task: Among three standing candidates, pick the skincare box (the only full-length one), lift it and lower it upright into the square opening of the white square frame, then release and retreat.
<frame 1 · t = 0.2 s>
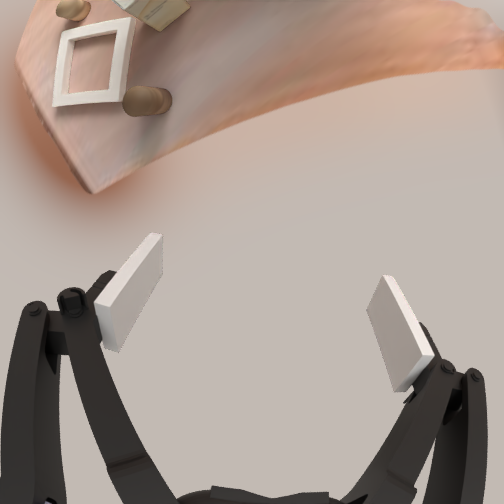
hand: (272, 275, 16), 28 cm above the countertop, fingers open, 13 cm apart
white square frame: (93, 63, 33), on the countertop
skincare box: (168, 11, 30), on the countertop
mid walnut dowel: (159, 101, 36), on the countertop
short oak dowel: (81, 11, 28), on the countertop
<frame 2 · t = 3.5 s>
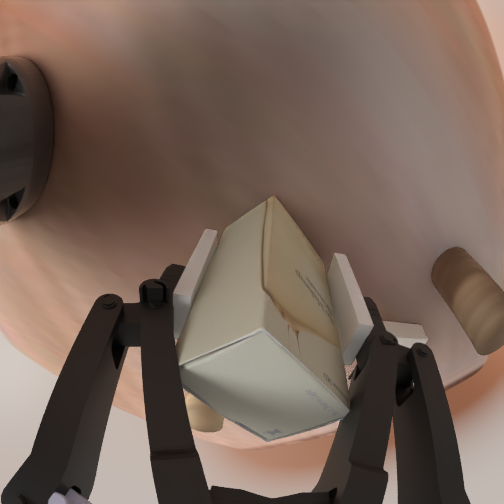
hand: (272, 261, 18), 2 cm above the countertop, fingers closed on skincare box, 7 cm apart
white square frame: (327, 370, 26), on the countertop
skincare box: (272, 244, 20), on the countertop, touching gripper
mid walnut dowel: (450, 268, 20), on the countertop
short oak dowel: (209, 383, 28), on the countertop
when the fingers open (4 cm above the countertop, at t = 8.9 s): skincare box drops 1 cm, resting in white square frame.
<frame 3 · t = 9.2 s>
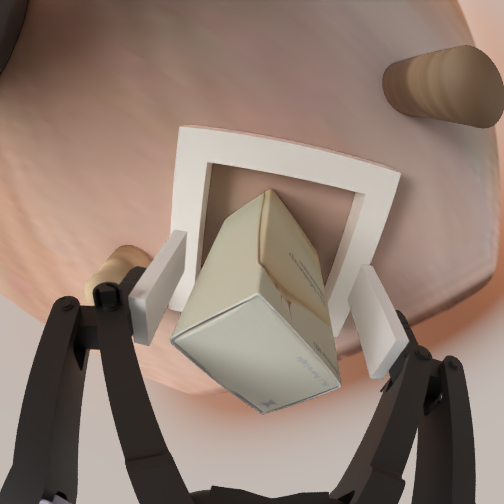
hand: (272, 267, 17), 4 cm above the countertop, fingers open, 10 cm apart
white square frame: (273, 236, 21), on the countertop
skincare box: (269, 234, 21), resting in white square frame
mid walnut dowel: (408, 88, 15), on the countertop
short oak dowel: (132, 266, 23), on the countertop
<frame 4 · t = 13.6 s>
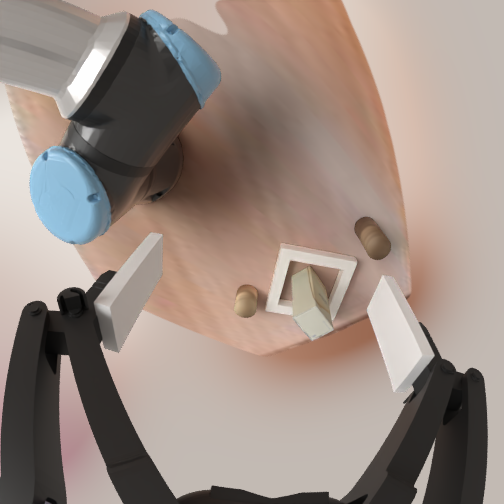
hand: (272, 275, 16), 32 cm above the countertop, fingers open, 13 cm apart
white square frame: (309, 282, 54), on the countertop
skincare box: (307, 281, 54), resting in white square frame
mid walnut dowel: (365, 227, 48), on the countertop
short oak dowel: (247, 293, 56), on the countertop
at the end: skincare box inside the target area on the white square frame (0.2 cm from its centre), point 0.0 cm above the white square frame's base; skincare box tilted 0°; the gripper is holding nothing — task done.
